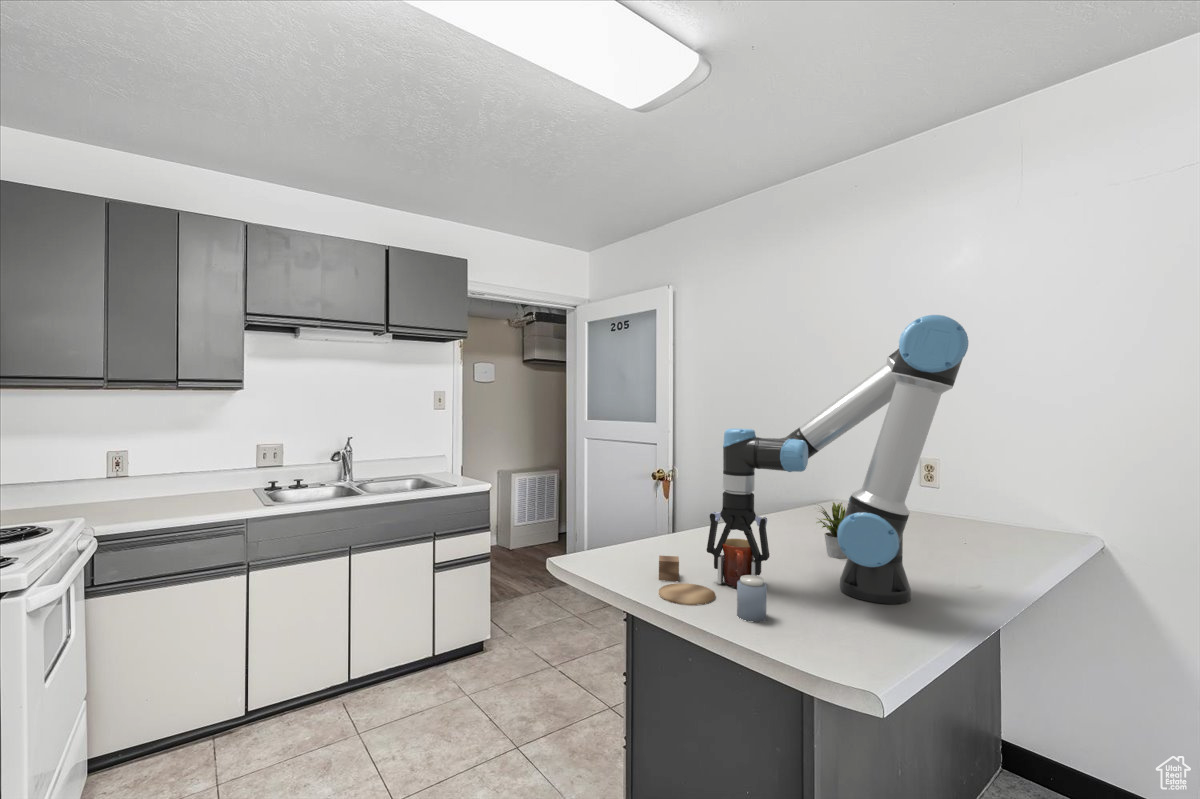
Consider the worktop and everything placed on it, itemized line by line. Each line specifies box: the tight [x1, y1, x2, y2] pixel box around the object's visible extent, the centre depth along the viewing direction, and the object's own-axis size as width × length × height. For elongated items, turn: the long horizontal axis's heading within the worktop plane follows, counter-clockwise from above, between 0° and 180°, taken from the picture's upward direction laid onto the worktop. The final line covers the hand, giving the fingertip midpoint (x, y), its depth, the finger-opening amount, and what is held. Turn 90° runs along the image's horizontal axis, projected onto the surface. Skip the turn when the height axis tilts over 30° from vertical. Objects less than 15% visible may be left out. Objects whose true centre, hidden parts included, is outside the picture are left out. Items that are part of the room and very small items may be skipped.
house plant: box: [812, 501, 848, 560], centre depth 166 cm, size 14×14×16 cm
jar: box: [736, 575, 768, 623], centre depth 117 cm, size 6×6×8 cm
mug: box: [722, 538, 754, 589], centre depth 136 cm, size 12×9×10 cm
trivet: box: [658, 582, 716, 606], centre depth 129 cm, size 13×13×1 cm
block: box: [658, 555, 680, 582], centre depth 142 cm, size 5×5×5 cm
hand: (737, 584), depth 136 cm, fingers closed on mug, 7 cm apart
